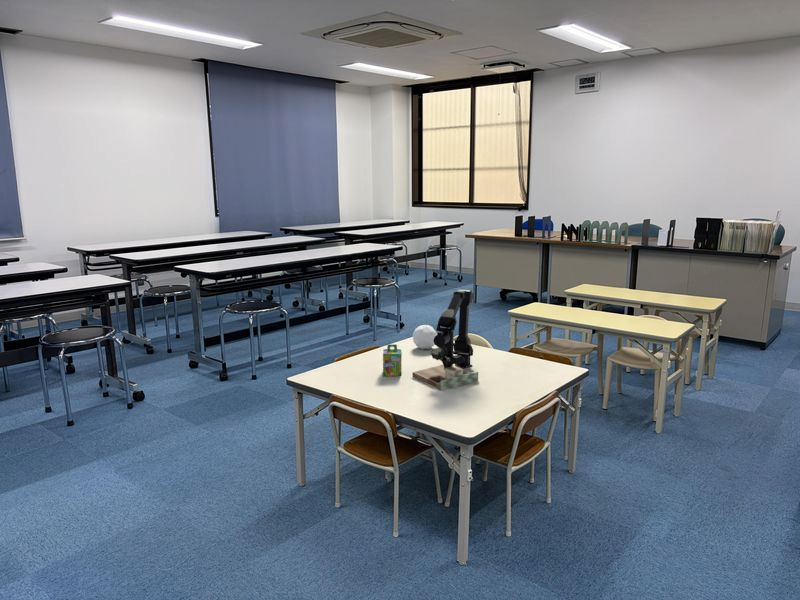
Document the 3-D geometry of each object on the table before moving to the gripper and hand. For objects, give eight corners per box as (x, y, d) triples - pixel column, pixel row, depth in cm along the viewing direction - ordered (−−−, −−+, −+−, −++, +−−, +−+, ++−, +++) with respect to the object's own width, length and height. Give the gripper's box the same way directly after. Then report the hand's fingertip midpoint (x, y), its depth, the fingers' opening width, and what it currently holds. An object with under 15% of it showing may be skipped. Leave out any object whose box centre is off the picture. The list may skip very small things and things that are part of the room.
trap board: (447, 368, 291) (447, 359, 290) (478, 380, 273) (478, 371, 272) (412, 377, 279) (412, 368, 278) (442, 390, 261) (442, 381, 260)
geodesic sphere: (424, 332, 338) (416, 316, 328) (445, 335, 330) (437, 319, 320) (413, 352, 330) (404, 336, 321) (434, 356, 322) (426, 340, 313)
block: (454, 375, 274) (454, 365, 273) (462, 378, 269) (462, 369, 268) (444, 377, 271) (444, 368, 270) (453, 381, 266) (453, 371, 265)
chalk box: (383, 377, 280) (382, 348, 277) (383, 371, 289) (382, 342, 286) (401, 376, 280) (401, 347, 277) (401, 370, 289) (401, 342, 286)
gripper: (421, 339, 274) (422, 371, 277) (446, 349, 259) (446, 381, 262) (440, 336, 280) (440, 366, 283) (465, 344, 265) (465, 376, 268)
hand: (447, 372), depth 274 cm, fingers closed
